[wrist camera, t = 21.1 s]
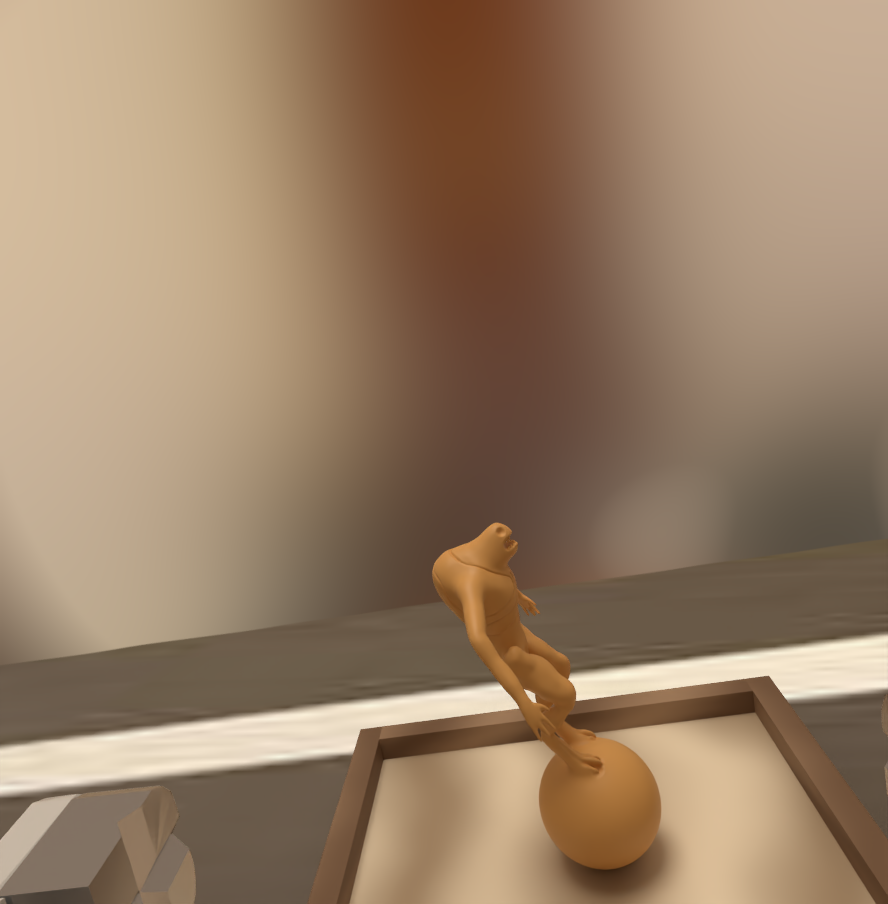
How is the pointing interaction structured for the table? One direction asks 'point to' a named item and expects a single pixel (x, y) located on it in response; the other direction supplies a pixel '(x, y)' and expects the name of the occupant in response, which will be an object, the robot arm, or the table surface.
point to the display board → (681, 826)
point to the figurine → (551, 712)
